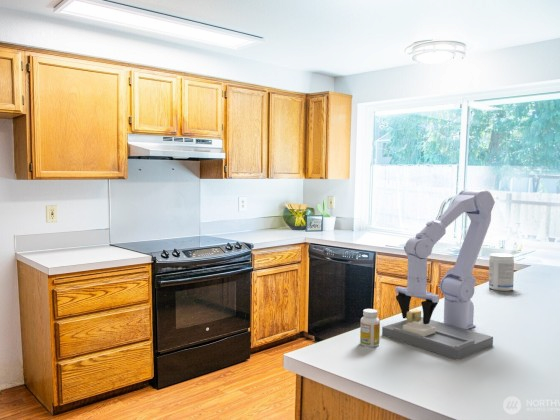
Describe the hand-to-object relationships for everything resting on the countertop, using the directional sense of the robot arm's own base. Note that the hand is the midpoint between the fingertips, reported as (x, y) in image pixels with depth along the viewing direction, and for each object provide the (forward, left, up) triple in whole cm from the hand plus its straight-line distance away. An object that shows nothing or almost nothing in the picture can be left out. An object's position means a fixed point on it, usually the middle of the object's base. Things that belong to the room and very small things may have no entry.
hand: (415, 320), depth 148 cm
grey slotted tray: (+2, +9, -3) cm, 9 cm away
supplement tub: (-77, -12, -4) cm, 78 cm away
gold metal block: (+1, 0, -1) cm, 1 cm away
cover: (+7, +6, 0) cm, 9 cm away
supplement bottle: (+20, -1, -3) cm, 20 cm away
